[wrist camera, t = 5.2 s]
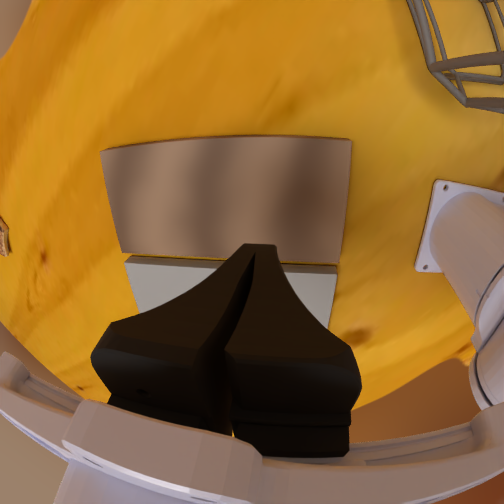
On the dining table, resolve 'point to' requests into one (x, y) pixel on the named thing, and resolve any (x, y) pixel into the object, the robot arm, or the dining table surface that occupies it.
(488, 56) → the geometric lantern
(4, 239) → the shard
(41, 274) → the dining table surface
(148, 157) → the walnut board
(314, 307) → the grey plank
